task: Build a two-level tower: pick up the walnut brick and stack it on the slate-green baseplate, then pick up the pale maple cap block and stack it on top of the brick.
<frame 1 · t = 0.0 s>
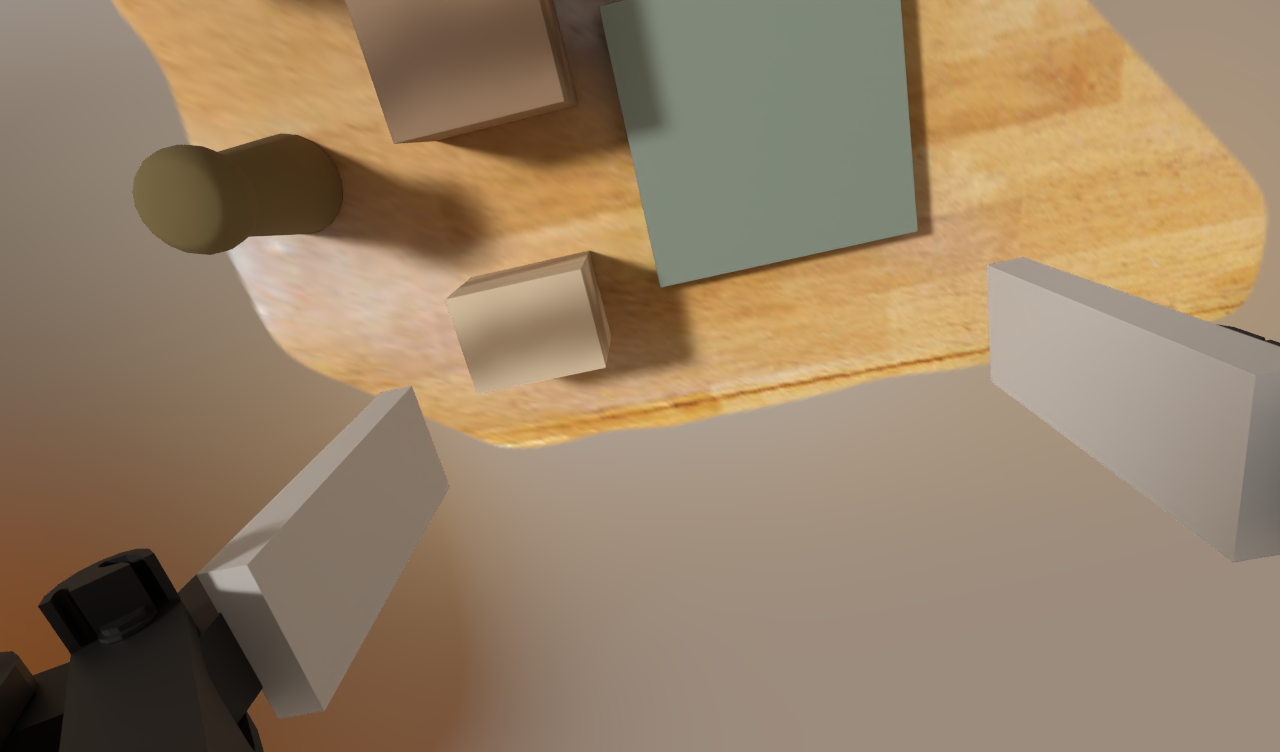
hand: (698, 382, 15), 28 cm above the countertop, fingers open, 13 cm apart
maple cap block: (542, 307, 43), on the countertop
olive pepper shaker: (295, 184, 41), on the countertop
baseplate: (762, 125, 39), on the countertop
walnut brick: (489, 60, 38), on the countertop
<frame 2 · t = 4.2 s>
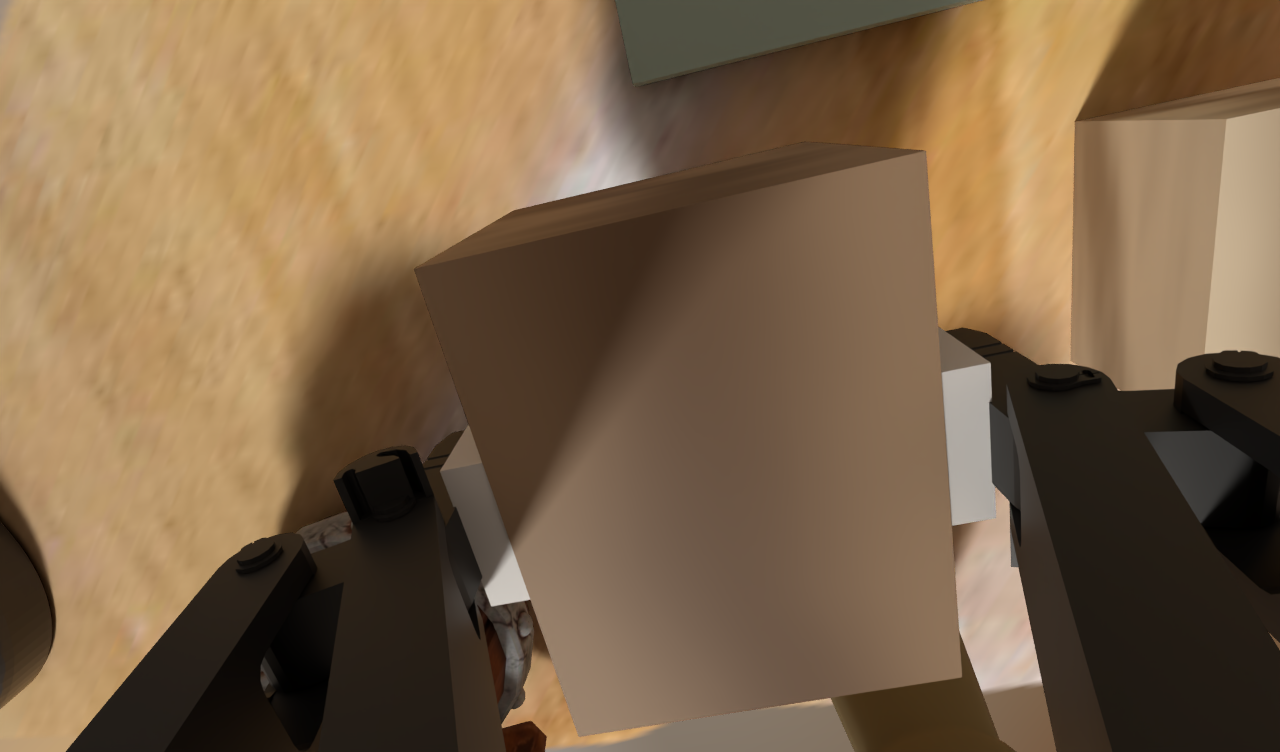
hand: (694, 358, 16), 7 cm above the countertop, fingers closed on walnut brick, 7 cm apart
maple cap block: (1167, 229, 21), on the countertop
olive pepper shaker: (864, 596, 27), on the countertop
walnut brick: (693, 353, 17), point 6 cm above the countertop, touching gripper
mug: (443, 620, 28), on the countertop
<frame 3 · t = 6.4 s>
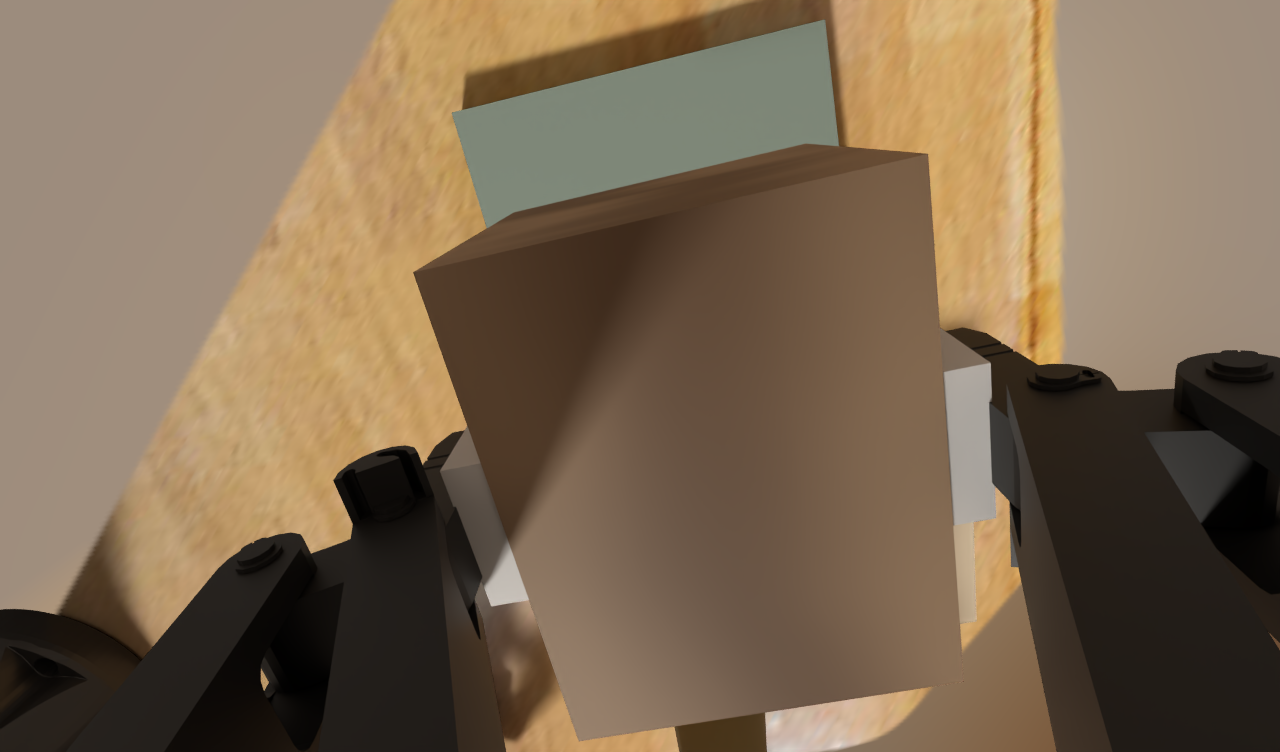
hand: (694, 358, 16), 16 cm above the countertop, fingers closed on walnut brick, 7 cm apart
maple cap block: (869, 497, 36), on the countertop
olive pepper shaker: (716, 698, 42), on the countertop
baseplate: (671, 248, 31), on the countertop
walnut brick: (693, 356, 17), point 16 cm above the countertop, touching gripper
when the fingers open (3 cm above the countertop, at t = 9.0 s): walnut brick drops 1 cm, resting on baseplate.
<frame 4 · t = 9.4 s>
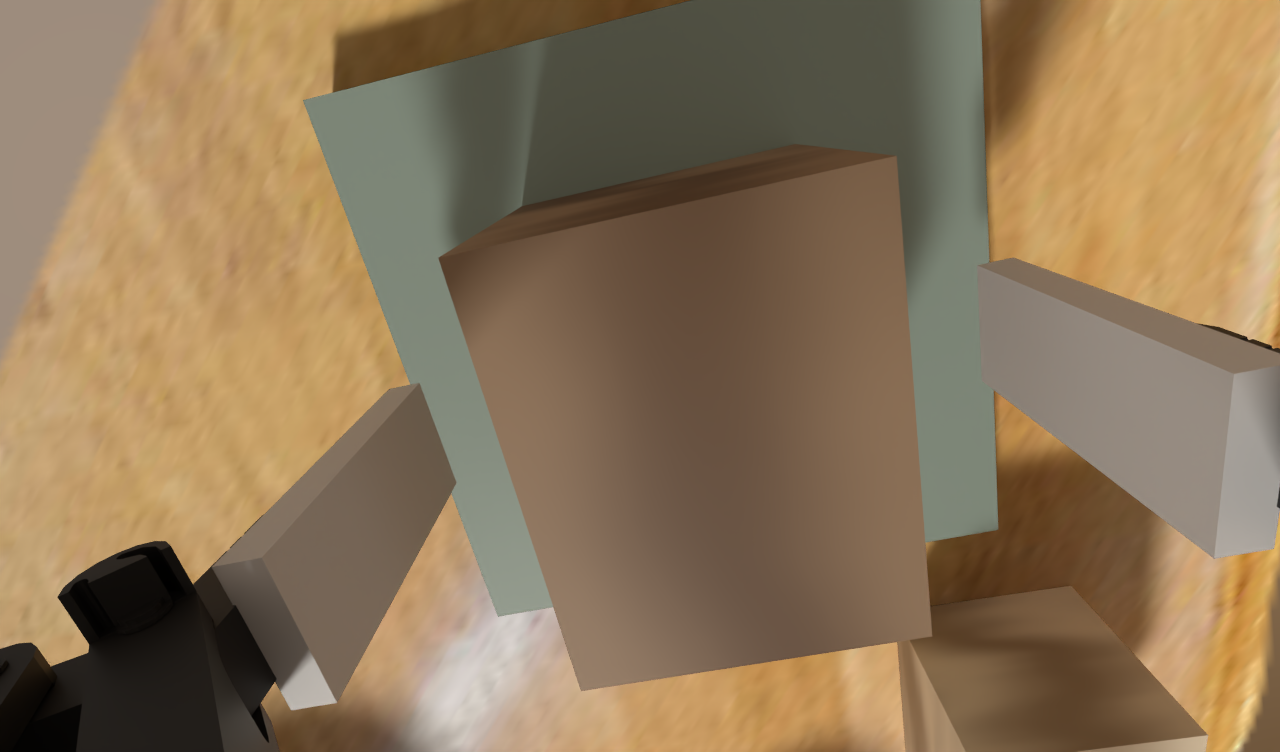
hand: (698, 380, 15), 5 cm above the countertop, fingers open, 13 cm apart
maple cap block: (981, 682, 24), on the countertop
baseplate: (687, 324, 19), on the countertop
walnut brick: (689, 342, 18), point 1 cm above the countertop, touching baseplate
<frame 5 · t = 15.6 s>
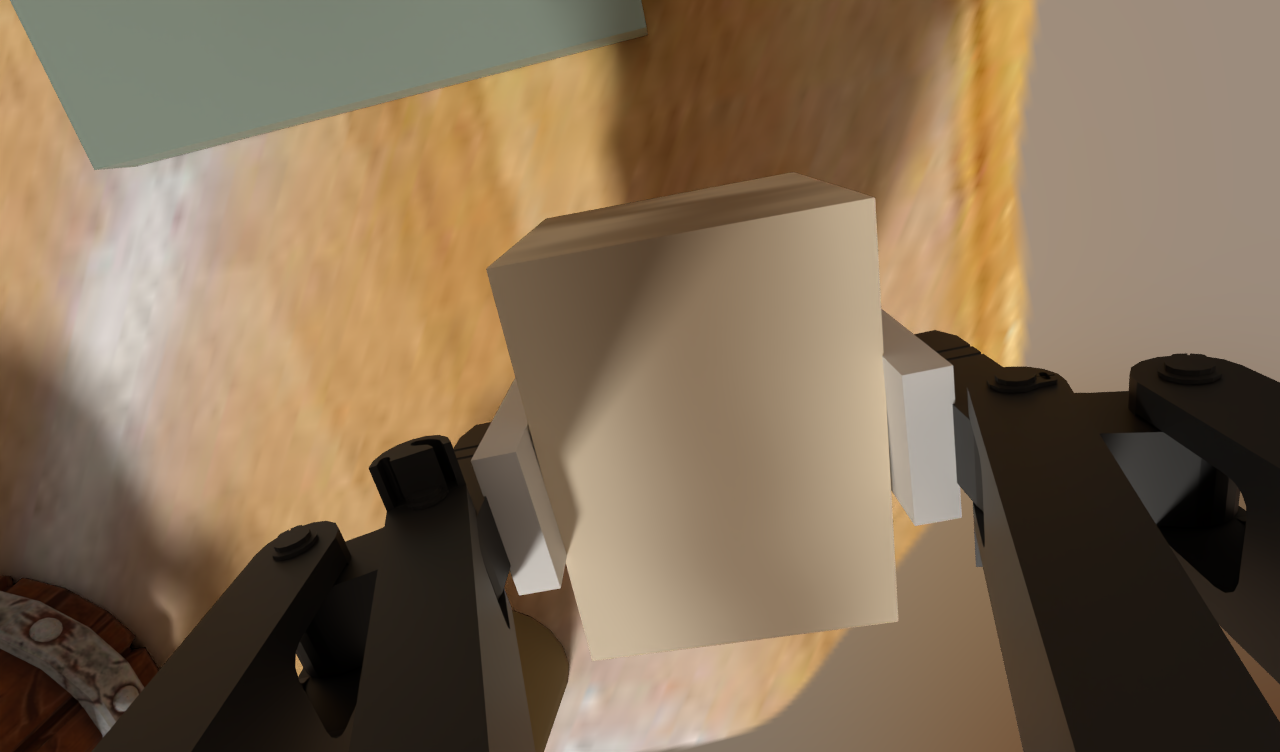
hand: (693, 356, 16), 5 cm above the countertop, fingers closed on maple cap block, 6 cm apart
maple cap block: (693, 351, 17), point 4 cm above the countertop, touching gripper
olive pepper shaker: (496, 662, 27), on the countertop
mug: (86, 686, 28), on the countertop
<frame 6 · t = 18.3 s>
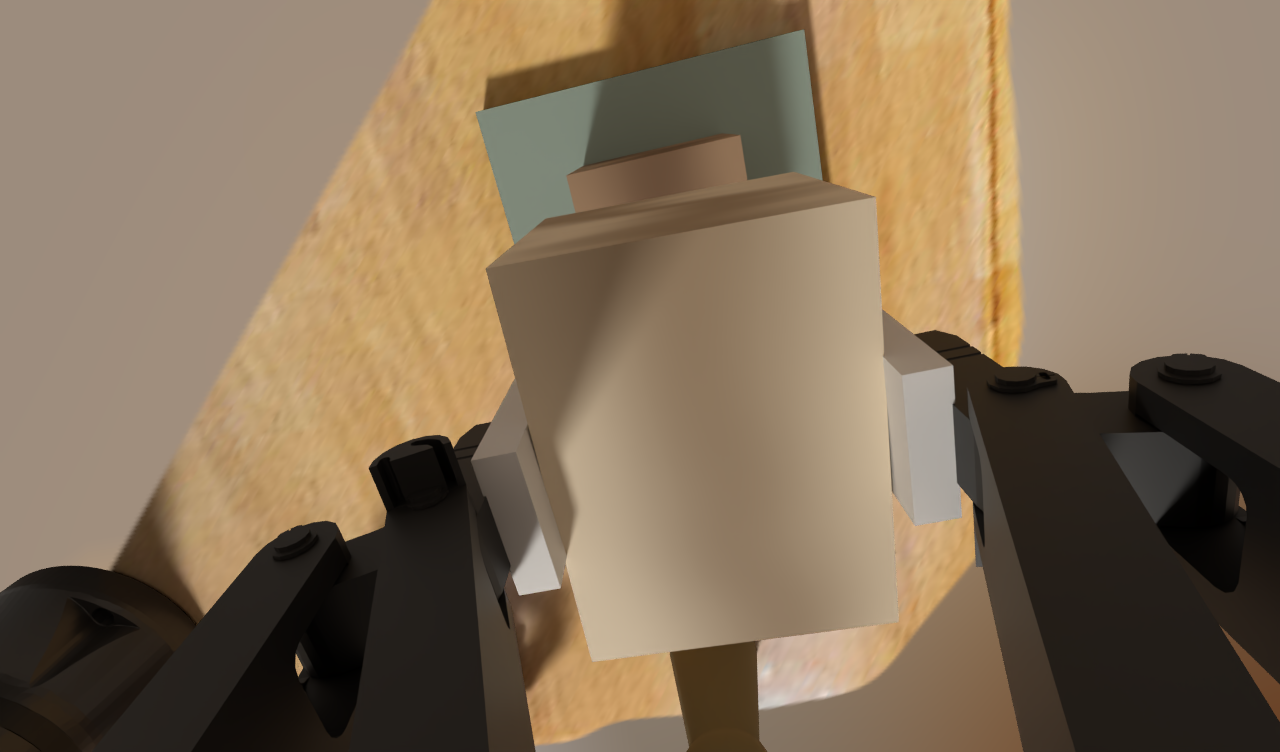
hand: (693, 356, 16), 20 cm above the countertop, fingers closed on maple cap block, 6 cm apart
maple cap block: (693, 351, 17), point 19 cm above the countertop, touching gripper
olive pepper shaker: (712, 650, 45), on the countertop
baseplate: (669, 233, 35), on the countertop
walnut brick: (670, 239, 34), point 1 cm above the countertop, touching baseplate
when the fingers open (9 cm above the countertop, at t = 21.2 s): maple cap block stays where it is, resting on walnut brick.
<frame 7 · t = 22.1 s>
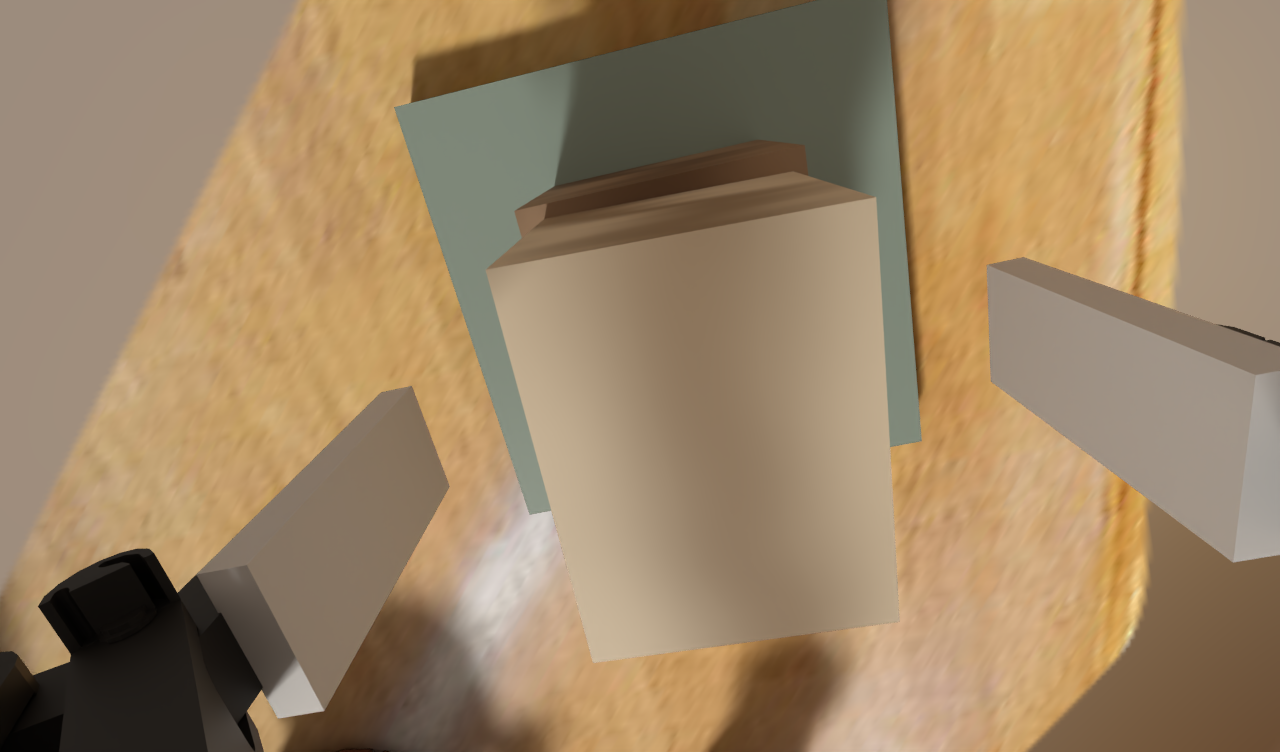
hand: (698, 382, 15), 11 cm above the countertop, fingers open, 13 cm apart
maple cap block: (692, 351, 17), point 8 cm above the countertop, touching walnut brick
baseplate: (679, 279, 25), on the countertop
walnut brick: (680, 291, 23), point 1 cm above the countertop, touching baseplate, maple cap block
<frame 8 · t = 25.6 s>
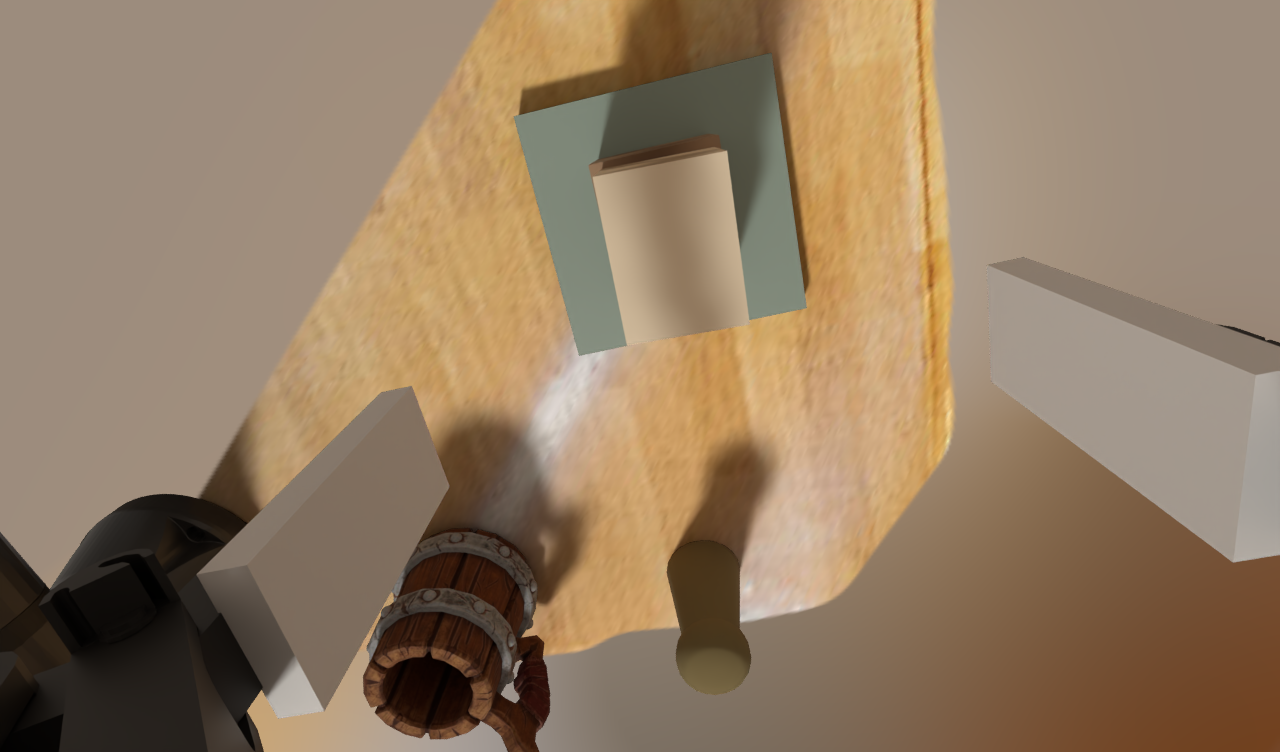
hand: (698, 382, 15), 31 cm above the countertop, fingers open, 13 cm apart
maple cap block: (670, 233, 35), point 8 cm above the countertop, touching walnut brick
olive pepper shaker: (702, 569, 54), on the countertop
baseplate: (666, 214, 43), on the countertop
walnut brick: (666, 218, 42), point 1 cm above the countertop, touching baseplate, maple cap block
mug: (489, 586, 55), on the countertop
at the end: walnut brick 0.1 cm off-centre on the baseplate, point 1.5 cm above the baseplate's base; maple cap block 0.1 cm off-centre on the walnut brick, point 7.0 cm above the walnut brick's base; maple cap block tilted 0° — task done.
